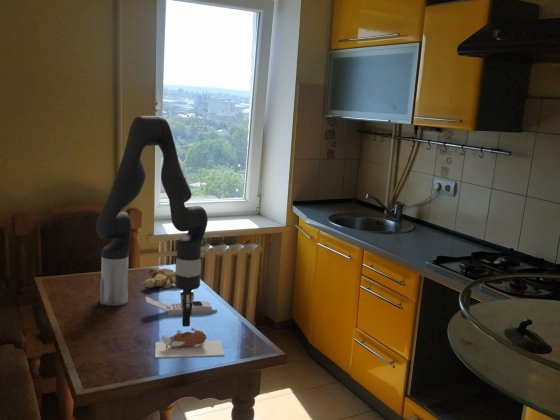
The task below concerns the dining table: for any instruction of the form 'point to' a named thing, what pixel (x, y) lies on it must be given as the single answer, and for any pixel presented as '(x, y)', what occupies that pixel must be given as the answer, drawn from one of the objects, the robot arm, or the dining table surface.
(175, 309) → the mobile phone
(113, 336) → the dining table surface
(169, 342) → the bull figurine
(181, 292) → the robot arm
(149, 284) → the ginger root
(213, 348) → the mat
